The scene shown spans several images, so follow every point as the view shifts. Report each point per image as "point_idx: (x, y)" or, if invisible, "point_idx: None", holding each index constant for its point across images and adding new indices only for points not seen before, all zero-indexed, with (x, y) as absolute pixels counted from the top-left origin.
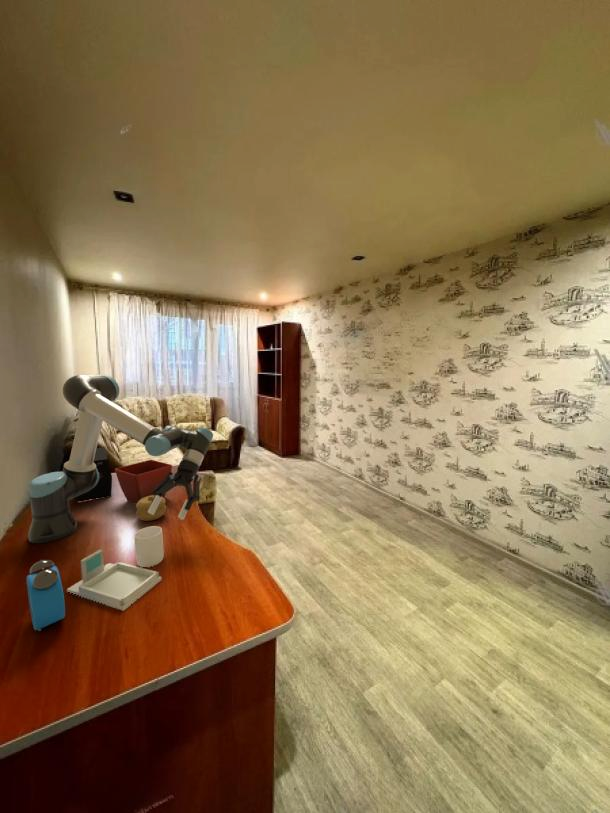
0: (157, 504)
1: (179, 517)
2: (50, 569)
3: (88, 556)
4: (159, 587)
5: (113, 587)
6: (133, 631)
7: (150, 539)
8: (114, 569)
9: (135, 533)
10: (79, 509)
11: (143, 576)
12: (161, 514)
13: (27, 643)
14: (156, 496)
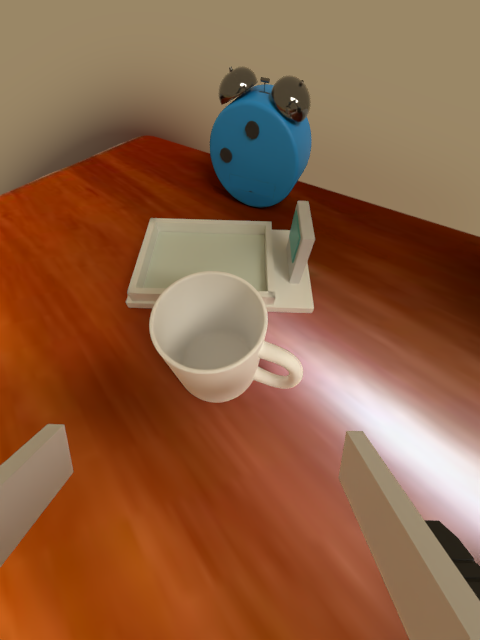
0: (386, 565)
1: (48, 426)
2: (238, 73)
3: (308, 214)
4: (119, 288)
5: (213, 252)
6: (105, 212)
7: (170, 292)
8: (266, 288)
9: (257, 293)
10: None
11: None
12: None
13: None
14: (475, 625)
